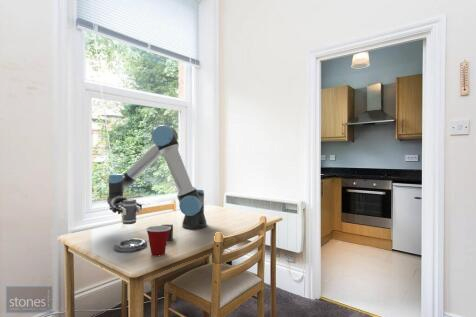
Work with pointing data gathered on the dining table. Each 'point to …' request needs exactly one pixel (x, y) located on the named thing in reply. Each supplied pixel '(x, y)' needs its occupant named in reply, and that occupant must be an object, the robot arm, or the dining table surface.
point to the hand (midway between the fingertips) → (132, 211)
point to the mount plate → (130, 245)
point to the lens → (129, 211)
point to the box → (169, 232)
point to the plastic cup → (158, 239)
